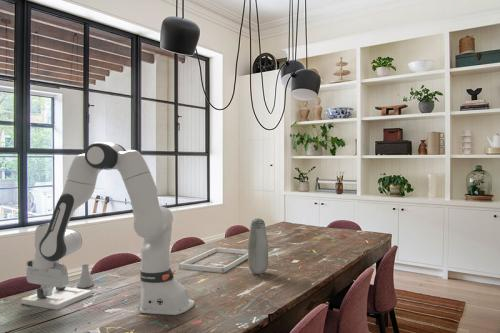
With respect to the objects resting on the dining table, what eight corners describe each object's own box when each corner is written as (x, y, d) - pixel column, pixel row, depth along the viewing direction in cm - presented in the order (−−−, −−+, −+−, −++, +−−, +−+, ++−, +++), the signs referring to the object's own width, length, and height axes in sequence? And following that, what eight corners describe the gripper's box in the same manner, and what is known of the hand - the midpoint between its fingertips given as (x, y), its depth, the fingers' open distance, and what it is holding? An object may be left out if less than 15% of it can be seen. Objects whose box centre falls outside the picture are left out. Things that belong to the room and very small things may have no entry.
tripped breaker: (47, 295, 160) (47, 286, 160) (41, 298, 157) (41, 288, 157) (43, 295, 161) (43, 286, 161) (37, 297, 158) (37, 288, 158)
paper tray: (254, 254, 235) (254, 250, 235) (223, 273, 197) (223, 268, 197) (215, 251, 246) (215, 247, 246) (178, 268, 207) (178, 263, 207)
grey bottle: (267, 276, 189) (265, 220, 188) (246, 276, 191) (245, 220, 191) (270, 271, 198) (268, 217, 198) (250, 270, 200) (249, 217, 200)
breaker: (65, 288, 169) (65, 279, 169) (59, 290, 167) (59, 281, 166) (61, 287, 170) (61, 279, 170) (55, 289, 167) (55, 281, 167)
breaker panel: (92, 295, 167) (91, 290, 167) (56, 309, 150) (56, 304, 150) (58, 290, 174) (58, 285, 174) (21, 303, 158) (21, 298, 158)
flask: (89, 282, 185) (88, 262, 185) (96, 285, 180) (96, 264, 180) (74, 286, 180) (73, 265, 179) (81, 289, 175) (81, 267, 175)
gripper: (72, 262, 156) (72, 296, 156) (36, 258, 164) (37, 290, 164) (59, 266, 150) (59, 301, 150) (23, 261, 158) (23, 295, 158)
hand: (47, 295), depth 157 cm, fingers closed
